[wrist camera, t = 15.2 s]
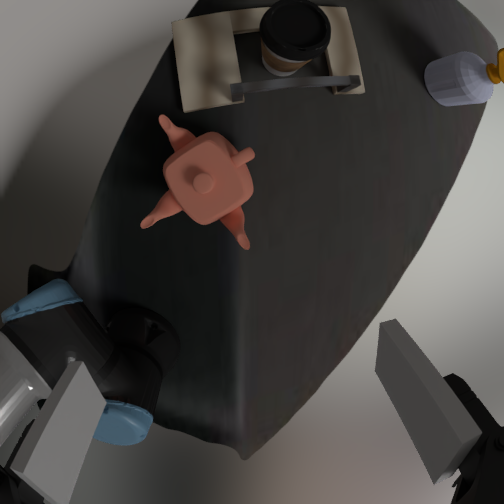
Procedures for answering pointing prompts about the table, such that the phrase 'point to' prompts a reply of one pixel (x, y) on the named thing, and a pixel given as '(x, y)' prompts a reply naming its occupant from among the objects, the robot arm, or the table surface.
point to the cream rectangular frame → (226, 63)
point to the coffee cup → (293, 35)
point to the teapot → (205, 180)
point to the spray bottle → (463, 78)
